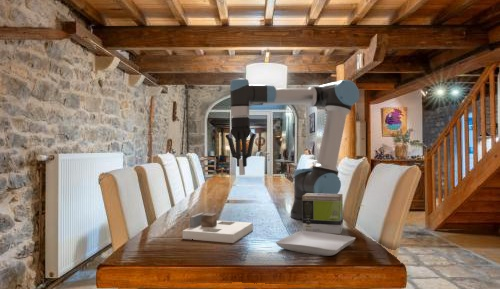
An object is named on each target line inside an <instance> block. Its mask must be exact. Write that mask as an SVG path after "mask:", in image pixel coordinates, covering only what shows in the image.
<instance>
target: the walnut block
mask: <svg viewBox="0 0 500 289" xmlns="http://www.w3.org/2000/svg"><path fill="white" fill-rule="evenodd" d="M204 213H205V214H203V215H201V227H214V226H216V225H217V220H218V215H217V213H211V212H204Z"/></svg>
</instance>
